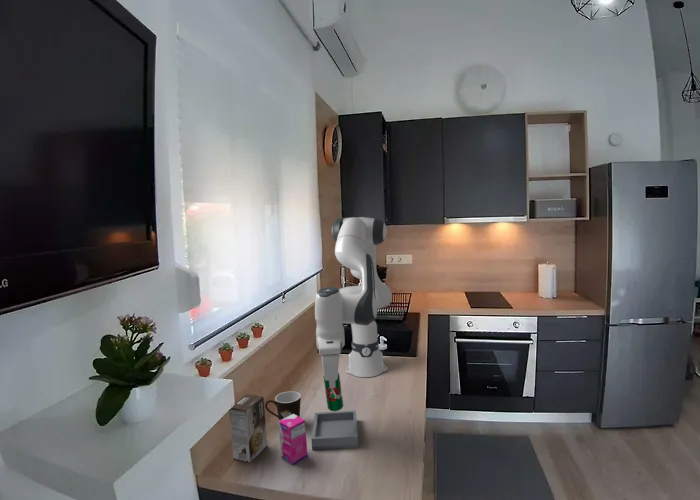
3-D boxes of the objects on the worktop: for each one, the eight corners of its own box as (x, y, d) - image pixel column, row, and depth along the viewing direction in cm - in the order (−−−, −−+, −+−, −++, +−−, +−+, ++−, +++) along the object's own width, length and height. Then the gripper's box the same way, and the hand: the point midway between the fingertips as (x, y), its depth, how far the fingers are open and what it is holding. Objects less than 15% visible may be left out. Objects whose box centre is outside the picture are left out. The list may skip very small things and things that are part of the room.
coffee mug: (307, 422, 137) (305, 394, 136) (291, 434, 130) (289, 405, 129) (281, 414, 143) (279, 387, 142) (264, 426, 136) (262, 398, 135)
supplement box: (280, 457, 118) (277, 420, 117) (296, 448, 122) (294, 412, 121) (292, 465, 114) (289, 427, 113) (308, 456, 118) (306, 419, 117)
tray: (315, 422, 137) (315, 412, 136) (356, 420, 137) (355, 410, 137) (312, 450, 121) (311, 438, 120) (358, 447, 121) (357, 436, 121)
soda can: (336, 402, 130) (331, 367, 129) (347, 406, 127) (342, 370, 126) (324, 409, 127) (319, 373, 126) (335, 413, 123) (330, 376, 122)
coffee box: (250, 442, 127) (247, 393, 125) (267, 445, 124) (264, 395, 123) (232, 459, 118) (228, 406, 117) (250, 463, 116) (246, 409, 114)
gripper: (322, 331, 135) (324, 371, 136) (318, 351, 115) (321, 397, 116) (340, 330, 135) (342, 370, 136) (340, 350, 115) (342, 396, 116)
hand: (332, 383), depth 126 cm, fingers closed on soda can, 5 cm apart
